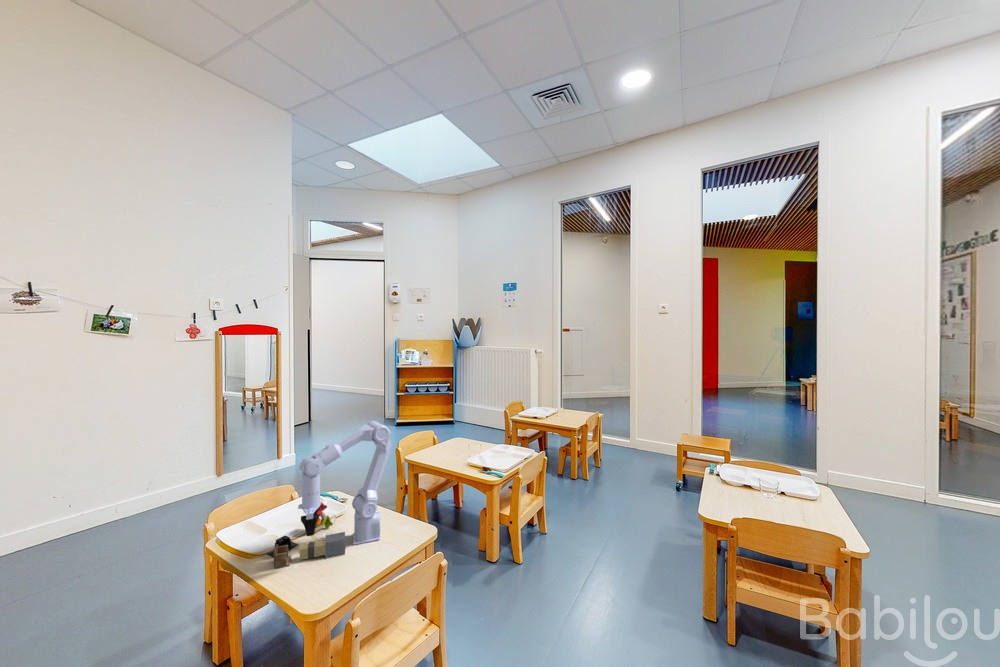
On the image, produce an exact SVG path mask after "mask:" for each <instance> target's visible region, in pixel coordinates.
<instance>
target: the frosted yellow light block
mask: <svg viewBox="0 0 1000 667" xmlns="http://www.w3.org/2000/svg"><path fill="white" fill-rule="evenodd" d="M321 556H325V539H324V540H317V541H309V542H308V543H303V544H299V561H300V560H301V561H302V560H306V559H307V560H309V559H310V560H311V559H314V558H317V557H321Z"/></svg>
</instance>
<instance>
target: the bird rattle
mask: <svg viewBox="0 0 1000 667" xmlns="http://www.w3.org/2000/svg"><path fill="white" fill-rule="evenodd" d="M327 508H328V505H327V504H324V502H321V505H320V507H319V509H318V512H317V515H318V514H319V518H318V520H317V523H316V526H315V532H314V534H317V532H318V531H320V530H322V529H323V527H324V528H325V529H329V528H330V526H331V527H332V526H333V525H334V523H333V522H332V521H331V517H330V516H329V515H326V513H325V512H324V510H326V509H327Z"/></svg>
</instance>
